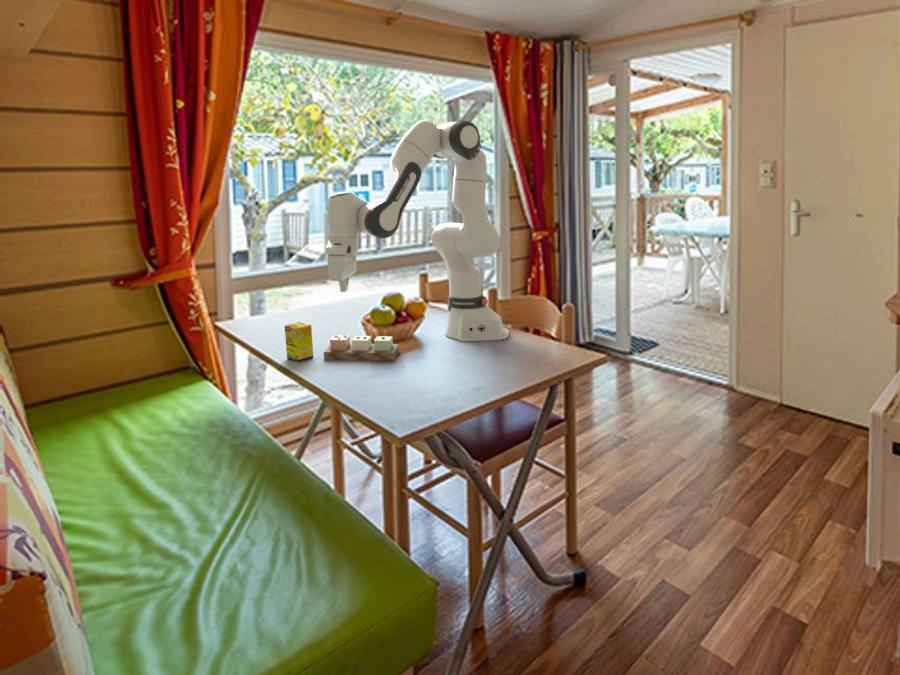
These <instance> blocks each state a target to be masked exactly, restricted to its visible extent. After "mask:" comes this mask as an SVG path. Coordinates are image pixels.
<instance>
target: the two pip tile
mask: <svg viewBox="0 0 900 675" xmlns="http://www.w3.org/2000/svg"><path fill="white" fill-rule="evenodd" d="M351 344H352V351H369V350H370V349H371V344H372V335H355V336H354V337H353V338H352V339H351Z"/></svg>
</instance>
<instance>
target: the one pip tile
mask: <svg viewBox="0 0 900 675" xmlns="http://www.w3.org/2000/svg"><path fill="white" fill-rule="evenodd" d="M373 344H374V351H391V350H392V349H393V344H394V337H393V336H390V335H389V336H386V335H383V336H380V335H377V336H376V337H375V338H374V340H373Z"/></svg>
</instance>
